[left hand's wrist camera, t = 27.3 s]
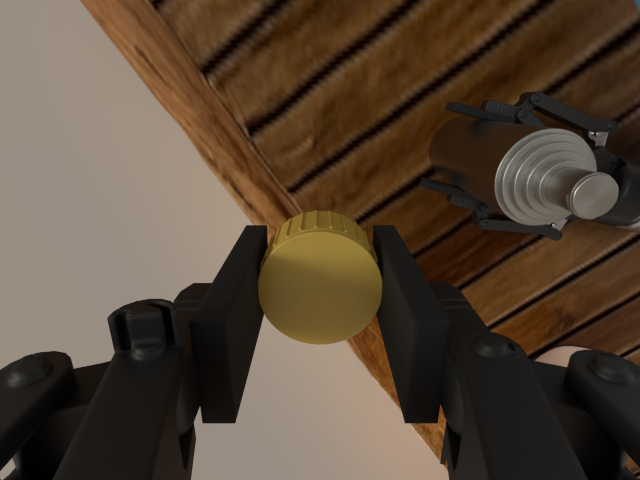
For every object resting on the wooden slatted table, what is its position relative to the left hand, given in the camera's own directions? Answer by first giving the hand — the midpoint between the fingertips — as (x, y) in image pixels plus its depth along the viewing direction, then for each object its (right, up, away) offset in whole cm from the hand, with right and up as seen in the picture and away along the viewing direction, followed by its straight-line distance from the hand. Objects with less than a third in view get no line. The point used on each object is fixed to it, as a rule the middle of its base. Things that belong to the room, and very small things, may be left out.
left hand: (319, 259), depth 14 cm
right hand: (+13, +11, +26) cm, 31 cm away
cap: (0, -1, -2) cm, 2 cm away
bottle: (+17, +12, +33) cm, 39 cm away
